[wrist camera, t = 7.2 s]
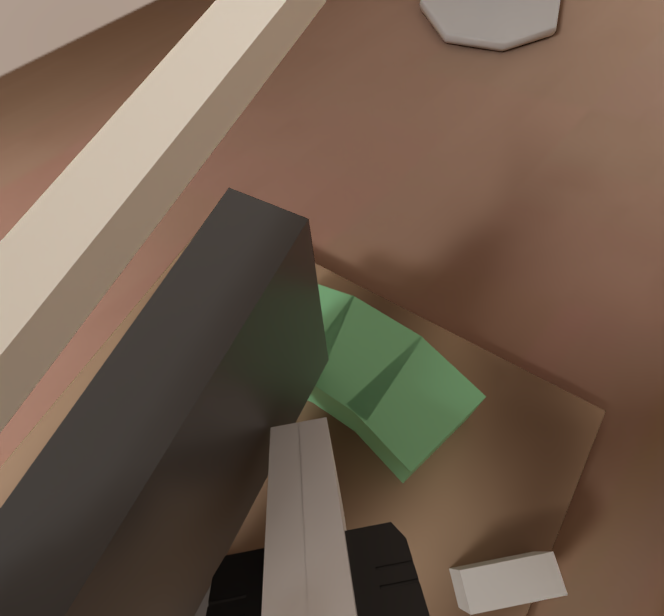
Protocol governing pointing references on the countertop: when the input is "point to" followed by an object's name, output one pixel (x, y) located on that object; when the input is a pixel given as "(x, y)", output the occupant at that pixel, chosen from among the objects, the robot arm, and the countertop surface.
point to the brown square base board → (436, 472)
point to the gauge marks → (415, 428)
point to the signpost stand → (157, 342)
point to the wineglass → (492, 21)
